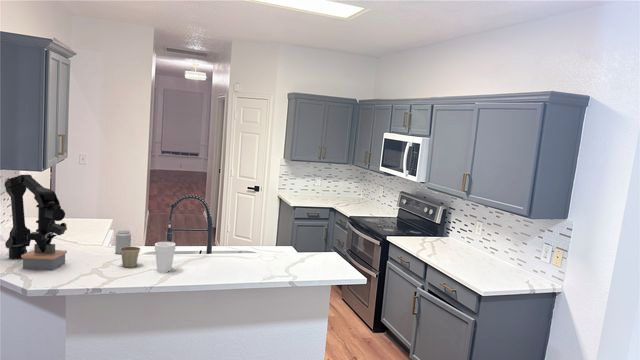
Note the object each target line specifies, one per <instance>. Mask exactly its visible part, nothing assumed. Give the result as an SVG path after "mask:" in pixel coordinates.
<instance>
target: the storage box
mask: <svg viewBox="0 0 640 360" xmlns="http://www.w3.org/2000/svg"><path fill="white" fill-rule="evenodd" d="M65 264H66V254H64V255H62V256H60V257H58V258H55V259H34V258H23V259H22V269H23V270H33V271H35V270H38V271H54V270H57V269H58V268H60V267H62V266H64V265H65Z"/></svg>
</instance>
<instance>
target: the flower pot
mask: <svg viewBox="0 0 640 360" xmlns="http://www.w3.org/2000/svg"><path fill="white" fill-rule="evenodd" d="M120 251H121V254H120V255H121V263H122V267H124V268H127V267H129V268H133V267H136V266H137V264H138V258H139V253H140V251H141V247H139V246H131V247H122V248H120Z"/></svg>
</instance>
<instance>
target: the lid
mask: <svg viewBox="0 0 640 360" xmlns="http://www.w3.org/2000/svg"><path fill="white" fill-rule="evenodd" d="M64 254H65V255H66V254H68V250H66V249H65V250H63V249H61V250H60V249H56V243H50V244H46V246H45V252H41V250H40V248H39V246H38V245H37V243H34V247H33V250H30V251H29V252H28V251H27V253H25V254H23V255H21V258H34V259H55V258H58V257H60V256H62V255H64Z"/></svg>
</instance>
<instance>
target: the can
mask: <svg viewBox="0 0 640 360" xmlns="http://www.w3.org/2000/svg"><path fill="white" fill-rule="evenodd" d="M116 232H117V233H116V234H115V247H114V248H115V253H116V254H118V255H121V251H120V248H122V247H132V246H131V243H132V242H131V241H132V233H130V230H127V229H125V230H124V229H123V230H118V231H116Z"/></svg>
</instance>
